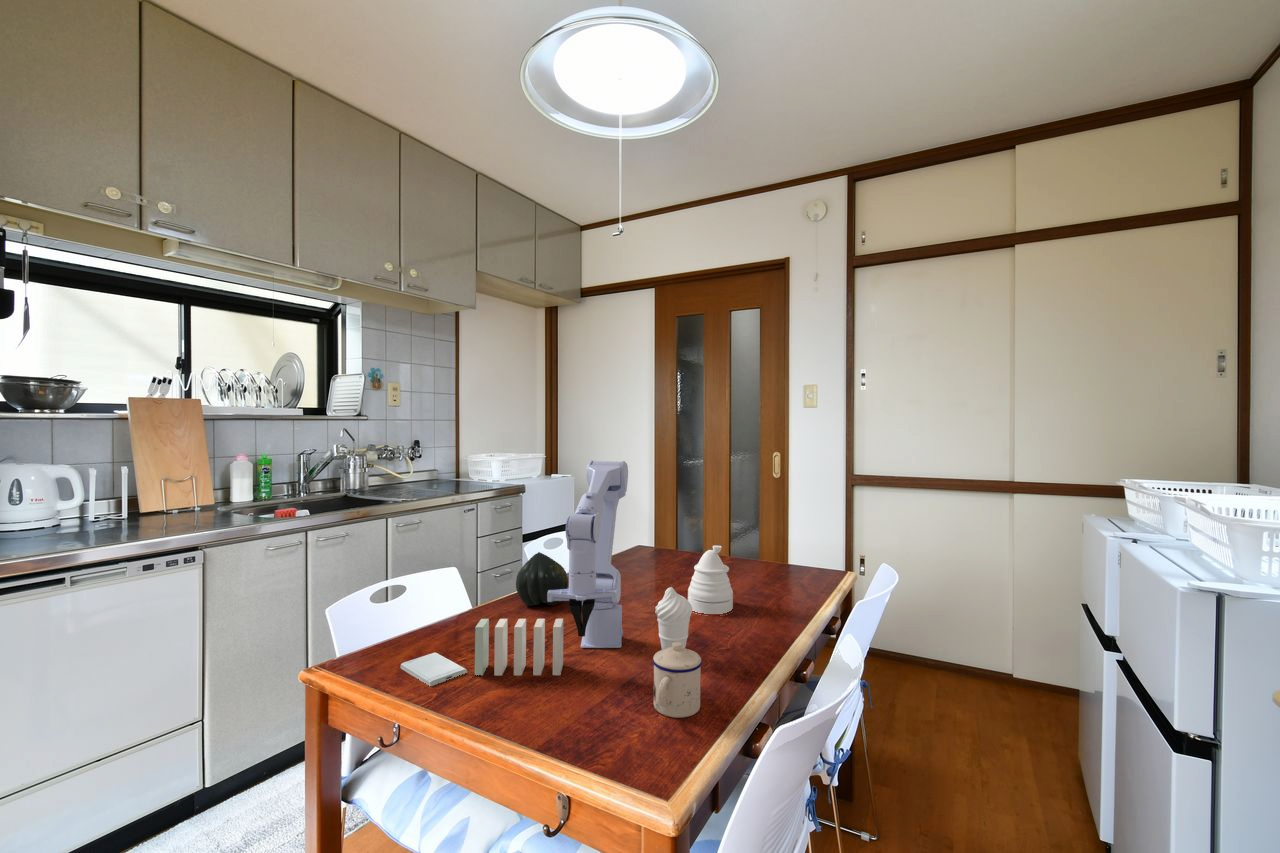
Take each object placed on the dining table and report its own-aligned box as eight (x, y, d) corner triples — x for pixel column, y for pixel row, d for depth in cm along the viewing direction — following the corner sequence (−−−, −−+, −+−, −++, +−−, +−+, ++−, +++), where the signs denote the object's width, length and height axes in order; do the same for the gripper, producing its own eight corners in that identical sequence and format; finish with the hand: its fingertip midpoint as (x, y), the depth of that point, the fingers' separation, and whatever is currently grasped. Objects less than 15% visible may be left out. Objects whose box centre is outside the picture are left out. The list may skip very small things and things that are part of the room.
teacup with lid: (664, 690, 108) (664, 631, 108) (708, 701, 104) (709, 639, 104) (636, 719, 97) (637, 653, 97) (684, 732, 93) (685, 663, 93)
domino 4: (544, 664, 119) (544, 618, 119) (540, 675, 114) (541, 627, 114) (536, 664, 119) (537, 618, 119) (533, 675, 114) (533, 627, 114)
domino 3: (525, 665, 119) (526, 618, 119) (521, 675, 114) (522, 627, 114) (518, 665, 119) (518, 618, 119) (513, 675, 114) (514, 627, 114)
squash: (555, 595, 151) (564, 546, 161) (503, 594, 153) (516, 546, 163) (567, 617, 161) (575, 570, 171) (518, 615, 163) (529, 569, 173)
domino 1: (488, 665, 119) (488, 618, 119) (482, 675, 114) (483, 627, 114) (480, 665, 119) (481, 618, 119) (474, 675, 114) (475, 627, 114)
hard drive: (400, 663, 117) (430, 681, 109) (436, 651, 123) (467, 667, 115) (400, 671, 117) (430, 689, 109) (436, 659, 123) (467, 675, 115)
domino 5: (562, 664, 119) (563, 618, 119) (560, 675, 114) (560, 626, 114) (555, 664, 119) (555, 618, 119) (552, 675, 114) (553, 626, 114)
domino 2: (507, 665, 119) (507, 618, 119) (502, 675, 114) (502, 627, 114) (499, 665, 119) (500, 618, 119) (494, 675, 114) (494, 627, 114)
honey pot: (739, 606, 160) (740, 544, 160) (721, 619, 149) (722, 552, 149) (699, 598, 167) (700, 539, 167) (679, 610, 156) (680, 546, 156)
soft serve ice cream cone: (695, 654, 125) (696, 584, 125) (686, 670, 117) (687, 594, 118) (660, 649, 128) (661, 580, 128) (649, 664, 120) (650, 590, 120)
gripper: (545, 575, 113) (544, 642, 113) (616, 575, 113) (615, 641, 113) (550, 567, 120) (549, 629, 120) (616, 567, 120) (616, 629, 120)
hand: (581, 634), depth 117 cm, fingers closed
